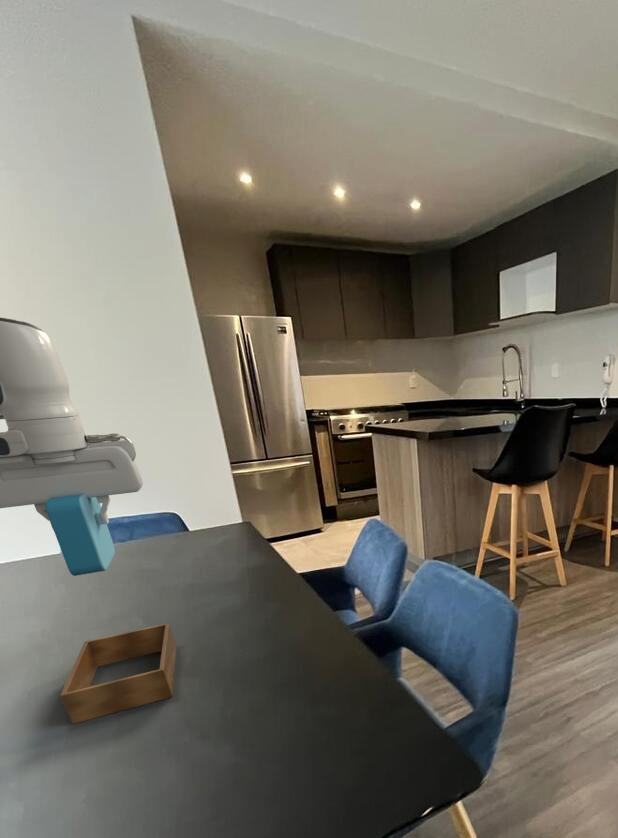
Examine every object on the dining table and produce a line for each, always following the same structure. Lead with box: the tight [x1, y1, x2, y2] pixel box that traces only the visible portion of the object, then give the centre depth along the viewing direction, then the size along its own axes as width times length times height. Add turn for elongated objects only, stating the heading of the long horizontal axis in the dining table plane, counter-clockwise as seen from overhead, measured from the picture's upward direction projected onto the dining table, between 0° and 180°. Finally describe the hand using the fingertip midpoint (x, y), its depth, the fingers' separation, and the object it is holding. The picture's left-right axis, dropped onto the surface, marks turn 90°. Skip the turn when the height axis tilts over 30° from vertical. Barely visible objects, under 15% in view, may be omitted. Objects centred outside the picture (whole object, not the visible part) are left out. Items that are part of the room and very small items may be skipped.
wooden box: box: [60, 622, 177, 725], centre depth 81 cm, size 13×18×5 cm
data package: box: [46, 494, 116, 577], centre depth 80 cm, size 12×4×12 cm, turn 25°
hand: (81, 526), depth 80 cm, fingers closed on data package, 4 cm apart
